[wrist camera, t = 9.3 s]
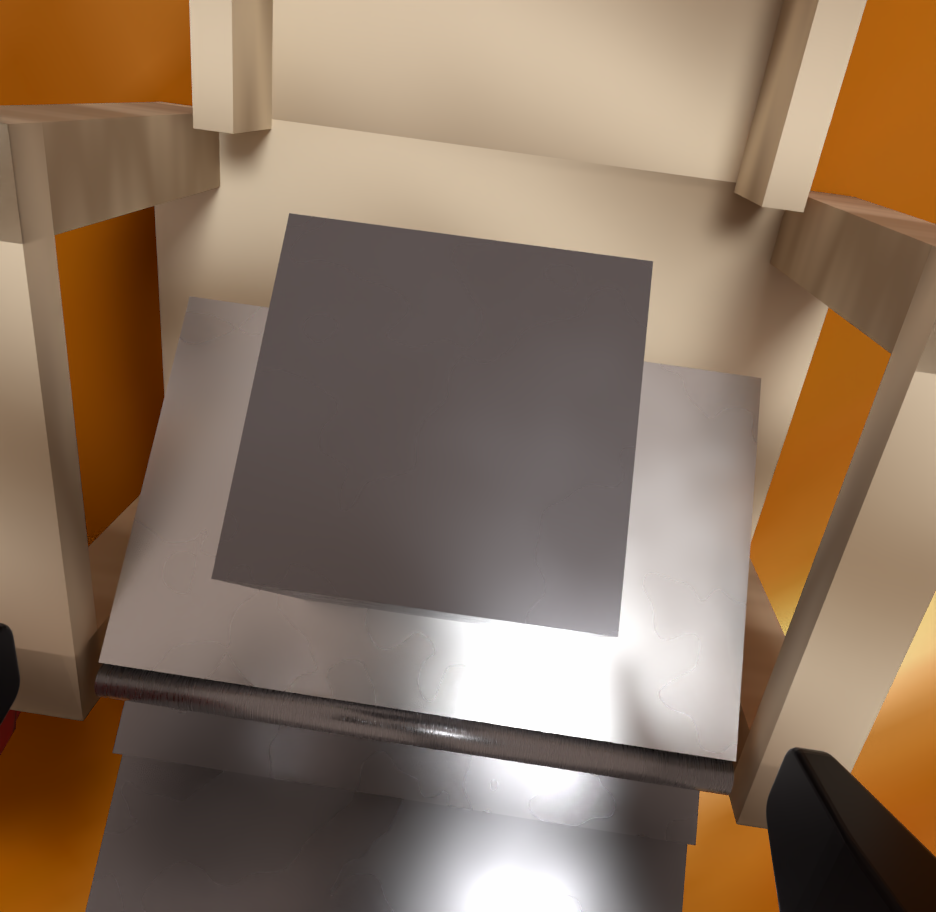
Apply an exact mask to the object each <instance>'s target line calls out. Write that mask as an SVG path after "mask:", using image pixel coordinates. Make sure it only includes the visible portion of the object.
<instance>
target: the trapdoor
mask: <svg viewBox="0 0 936 912" xmlns="http://www.w3.org/2000/svg"><path fill="white" fill-rule="evenodd" d="M268 310H269V308H268V307H261V306H254V305H247V304H240V303H233V302H226V301H219V300H212V299H205V298H198V297H191V296H190V297H189V301H188V305H187V309H186V313H185V317H184V321H183V325H182V329H181V333H180V337H179V341H178V345H177V349H176V353H175V357H174V361H173V365H172V369H171V373H170V377H169V381H168V385H167V389H166V393H165V397H164V401H163V405H162V409H161V414H160V418H159V422H158V426H157V430H156V434H155V438H154V442H153V446H152V450H151V454H150V458H149V462H148V466H147V470H146V474H145V478H144V482H143V486H142V490H141V494H140V498H139V502H138V506H137V510H136V514H135V518H134V522H133V526H132V530H131V534H130V538H129V542H128V546H127V550H126V554H125V558H124V562H123V566H122V570H121V574H120V578H119V582H118V586H117V590H116V594H115V598H114V602H113V606H112V610H111V614H110V618H109V622H108V626H107V630H106V634H105V639H104V643H103V647H102V651H101V655H100V659H99V663H103V664H102V665H101V667H100V668H99V671H98V673H97V676H96V680H95V686H94V689H95V694H96V696H98V697H104V698H111V699H117V700H123V701H125V703H124V707H123V711H122V715H121V720H120V724H119V728H118V732H117V736H116V741H115V745H114V749H113V753H117V754H123V755H122V759H121V763H120V768H119V772H118V776H117V780H116V785H115V789H114V793H113V797H112V802H111V806H110V810H109V814H108V818H107V823H106V827H105V831H104V835H103V840H102V844H101V848H100V852H99V857H98V861H97V865H96V869H95V874H94V878H93V882H92V886H91V891H90V895H89V899H88V903H87V908H86V912H682V905H683V892H684V879H685V866H686V853H687V844H691V845H695V844H696V831H697V818H698V804H699V791H704V792H710V793H717V794H723V795H729V794H730V793H731V791H732V788H733V782H734V766H733V762H732V761H735V762H736V754H737V739H738V724H739V709H740V693H741V678H742V663H743V648H744V633H745V618H746V603H747V587H748V572H749V557H750V542H751V527H752V512H753V496H754V481H755V466H756V451H757V436H758V421H759V406H760V390H761V378H757V377H750V376H743V375H736V374H729V373H722V372H715V371H708V370H701V369H694V368H687V367H680V366H673V365H666V364H659V363H652V362H645V361H644V365H643V376H642V387H641V397H640V408H639V419H638V429H637V440H636V451H635V461H634V472H633V483H632V494H631V504H630V515H629V526H628V536H627V547H626V558H625V568H624V579H623V590H622V600H621V611H620V622H619V632H618V637H576V636H555V635H548V634H541V633H535V632H528V631H521V630H514V629H507V628H500V627H493V626H486V625H479V624H472V623H465V622H458V621H451V620H444V619H437V618H430V617H423V616H416V615H409V614H402V613H395V612H388V611H381V610H374V609H367V608H360V607H353V606H346V605H340V604H333V603H326V602H319V601H312V600H305V599H299V598H295V597H290V596H286V595H281V594H277V593H272V592H268V591H263V590H259V589H254V588H250V587H246V586H241V585H237V584H232V583H228V582H223V581H219V580H214V579H211V577H212V572H213V568H214V563H215V558H216V554H217V549H218V544H219V540H220V535H221V530H222V526H223V521H224V516H225V512H226V507H227V502H228V498H229V493H230V488H231V484H232V479H233V474H234V469H235V465H236V460H237V455H238V451H239V446H240V441H241V437H242V432H243V427H244V423H245V418H246V413H247V409H248V404H249V399H250V395H251V390H252V385H253V381H254V376H255V371H256V366H257V362H258V357H259V352H260V348H261V343H262V338H263V334H264V329H265V324H266V320H267V315H268Z"/></svg>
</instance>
